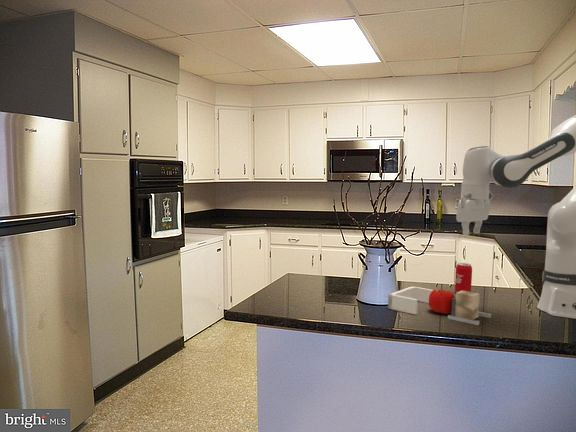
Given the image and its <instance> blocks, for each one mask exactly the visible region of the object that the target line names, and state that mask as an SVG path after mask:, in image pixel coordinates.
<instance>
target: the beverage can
mask: <svg viewBox="0 0 576 432" xmlns="http://www.w3.org/2000/svg"><path fill="white" fill-rule="evenodd" d="M454 279H455V280H454V292H455V294H456V293H457V292H459V291H468V292H472V281H473V280H472V279H473V267H472V264H471V263H468V262H458V263H457V264H456V266H455V278H454Z"/></svg>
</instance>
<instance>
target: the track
mask: <svg viewBox="0 0 576 432" xmlns="http://www.w3.org/2000/svg"><path fill="white" fill-rule="evenodd" d="M478 317H482V318H487V319H491V318H492V313H487V312H483V311H479V314H478ZM447 319H448V320H452V321H456V322H460V323H464V324H465V323H466V324H471V325H474V326H480V323H481V322H480V320H478V319H477V320H476V319H474V320H472V319H467V318H463V317H458V316H453V315H451V314H447Z"/></svg>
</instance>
